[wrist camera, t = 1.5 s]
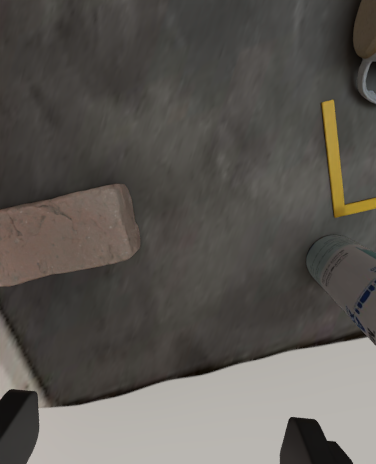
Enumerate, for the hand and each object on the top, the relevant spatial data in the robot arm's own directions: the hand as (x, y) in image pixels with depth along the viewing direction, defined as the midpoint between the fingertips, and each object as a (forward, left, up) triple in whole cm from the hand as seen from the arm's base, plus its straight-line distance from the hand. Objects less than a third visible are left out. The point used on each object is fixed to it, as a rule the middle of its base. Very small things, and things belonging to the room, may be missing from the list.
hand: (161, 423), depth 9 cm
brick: (-3, -14, -26) cm, 29 cm away
